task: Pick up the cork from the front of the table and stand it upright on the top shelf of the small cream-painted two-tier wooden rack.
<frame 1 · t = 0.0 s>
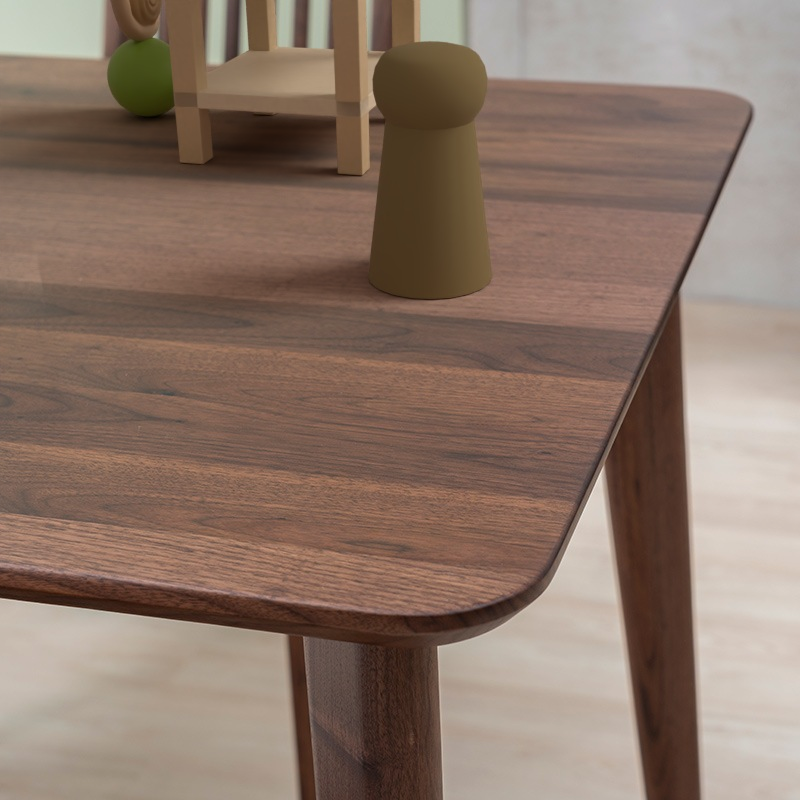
rack: (306, 139, 83), on the table
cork: (430, 279, 61), on the table
snail figurine: (147, 119, 89), on the table
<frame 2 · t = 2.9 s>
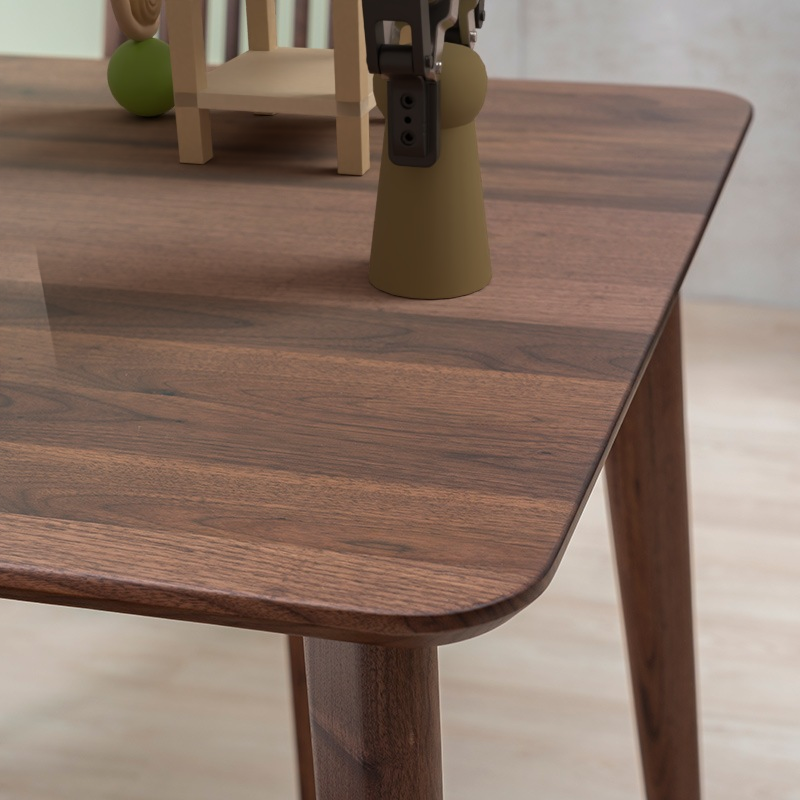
hand: (430, 145, 58), 6 cm above the table, tool pointing down, fingers closed on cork, 5 cm apart
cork: (430, 279, 61), on the table, touching gripper
everything else where it was.
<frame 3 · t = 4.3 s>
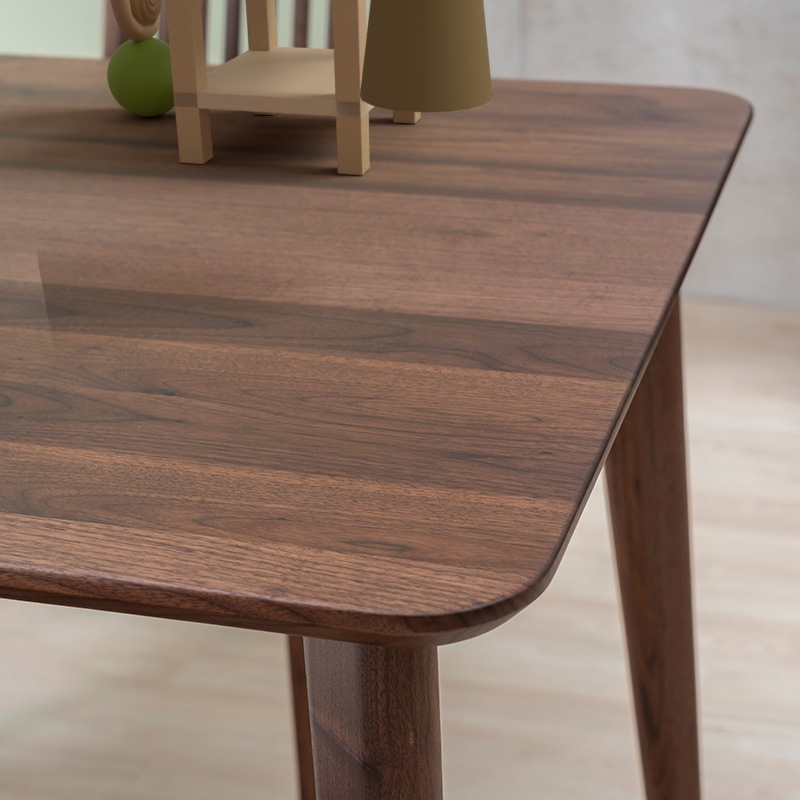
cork: (426, 100, 57), point 9 cm above the table, touching gripper
everything else where it was.
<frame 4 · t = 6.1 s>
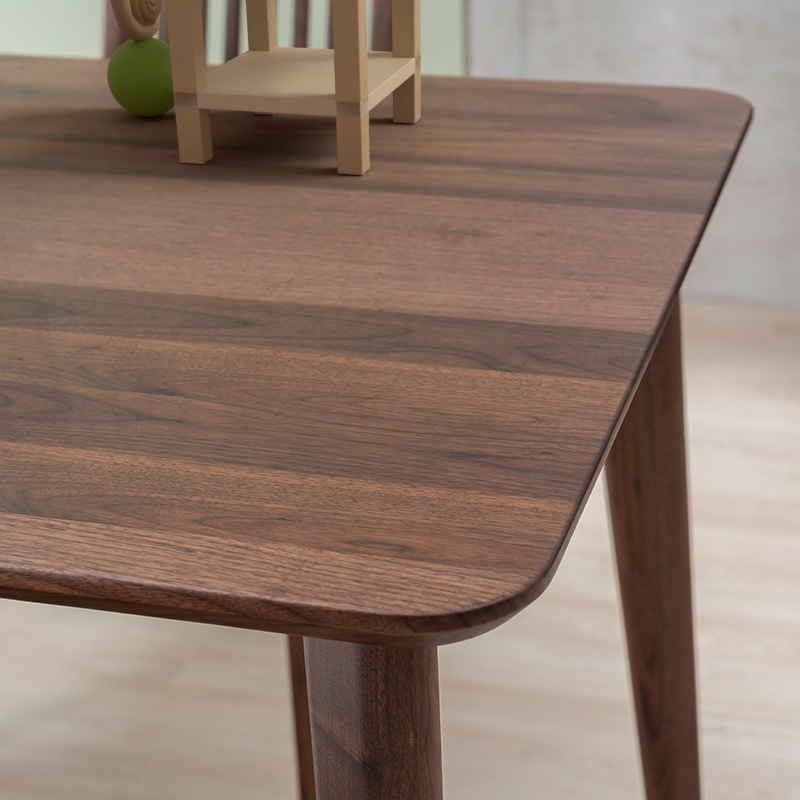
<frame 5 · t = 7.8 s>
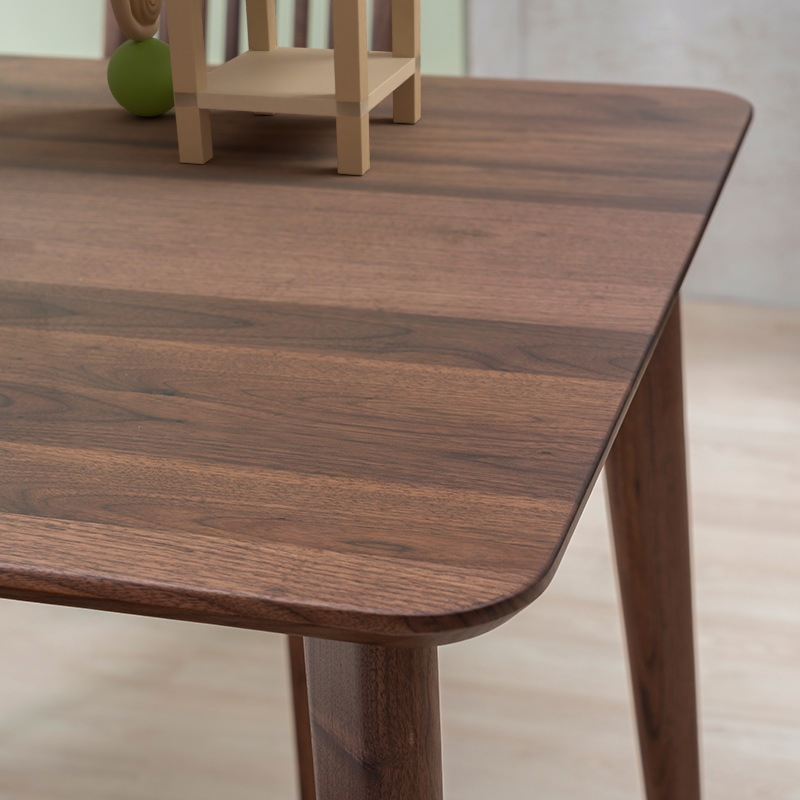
when the fingers open (18 cm above the table, at t = 9.2 s): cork stays where it is, resting on rack.
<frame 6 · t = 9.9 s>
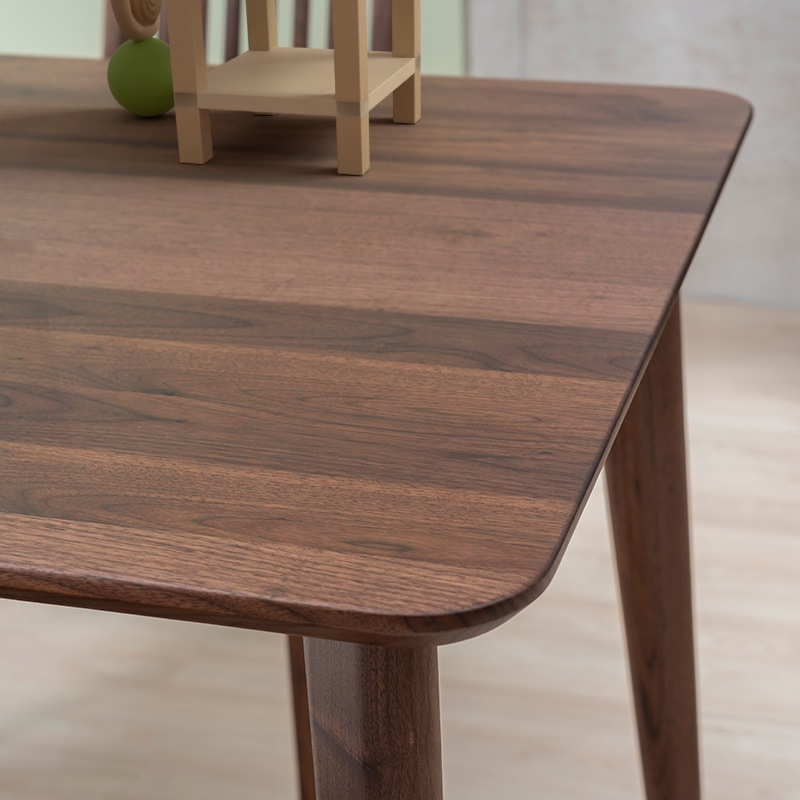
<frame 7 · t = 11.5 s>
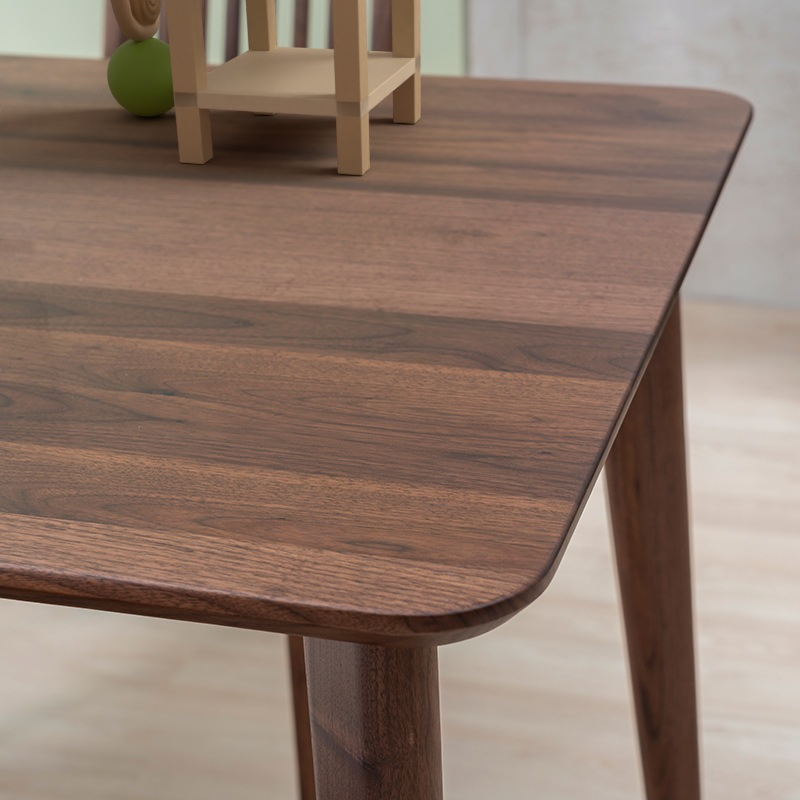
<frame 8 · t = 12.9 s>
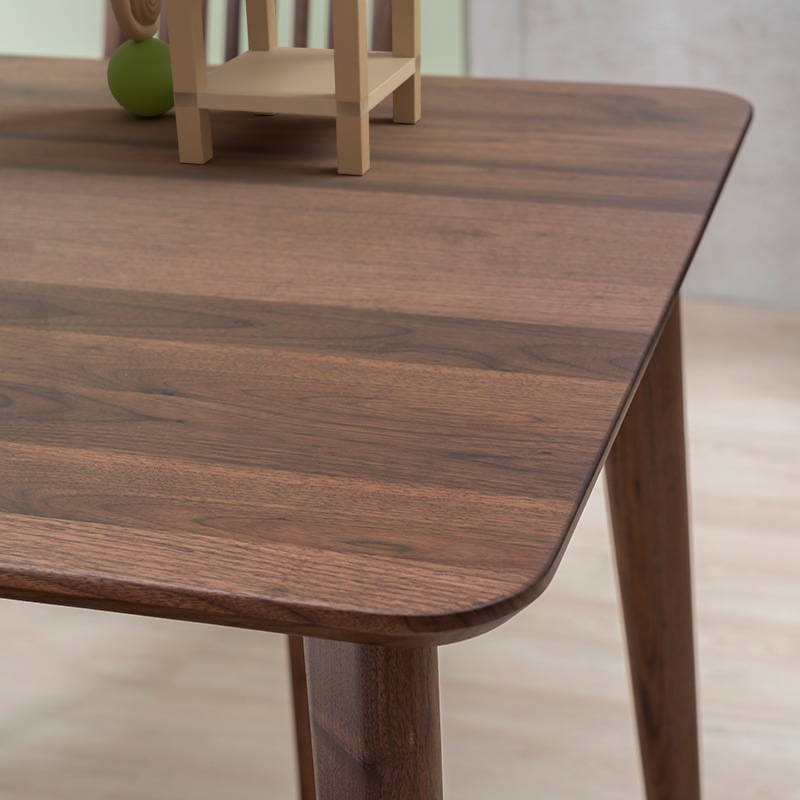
at the end: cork inside the target area on the rack (0.1 cm from its centre), point 11.8 cm above the rack's base; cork tilted 0°; the gripper is holding nothing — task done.
